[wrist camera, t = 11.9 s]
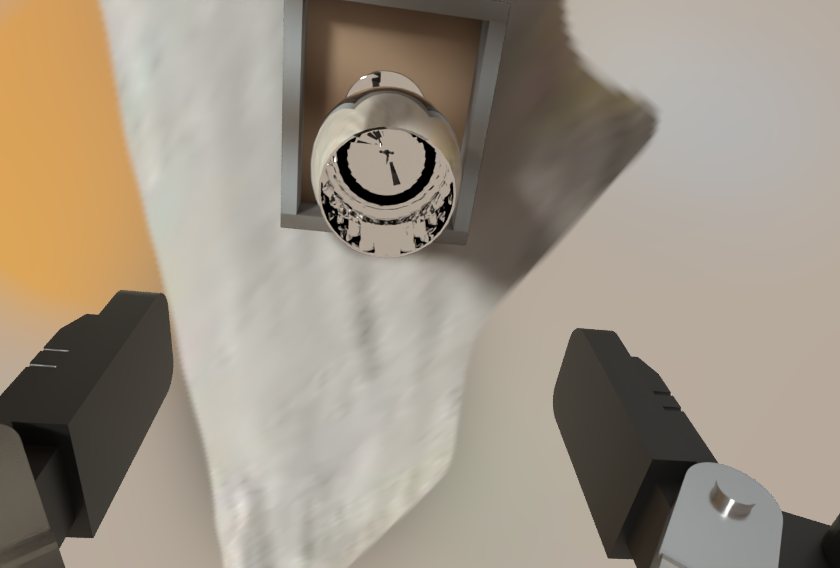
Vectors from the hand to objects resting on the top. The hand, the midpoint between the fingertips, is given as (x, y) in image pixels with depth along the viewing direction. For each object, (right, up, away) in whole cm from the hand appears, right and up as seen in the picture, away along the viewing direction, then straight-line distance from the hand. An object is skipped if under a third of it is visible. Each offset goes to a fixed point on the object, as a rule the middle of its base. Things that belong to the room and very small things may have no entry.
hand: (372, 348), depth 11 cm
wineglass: (-1, +10, +18) cm, 21 cm away
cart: (-1, +12, +21) cm, 24 cm away
